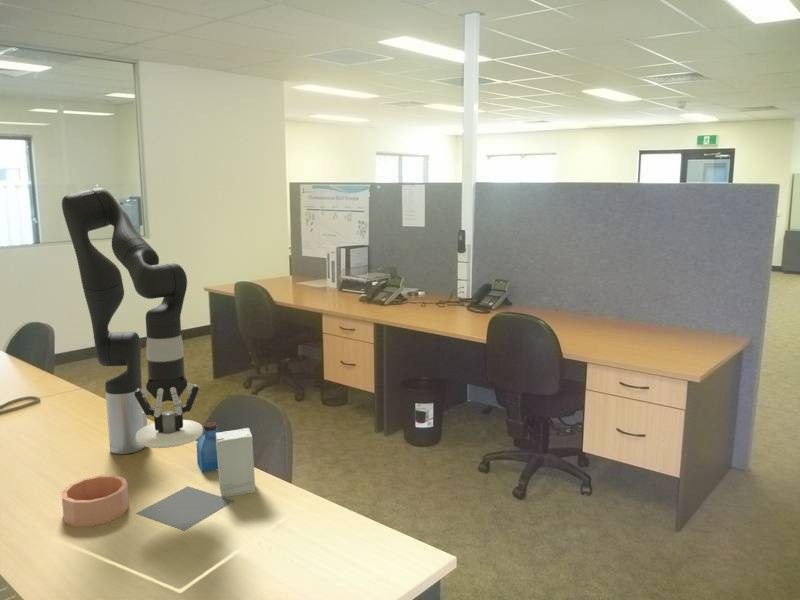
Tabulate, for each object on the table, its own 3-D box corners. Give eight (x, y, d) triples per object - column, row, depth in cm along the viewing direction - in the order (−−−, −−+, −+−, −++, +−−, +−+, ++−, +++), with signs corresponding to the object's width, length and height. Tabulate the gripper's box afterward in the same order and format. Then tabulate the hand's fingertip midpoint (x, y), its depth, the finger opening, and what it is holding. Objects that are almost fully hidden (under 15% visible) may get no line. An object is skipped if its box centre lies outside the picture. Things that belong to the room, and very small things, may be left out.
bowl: (103, 494, 149) (101, 471, 148) (141, 507, 142) (139, 483, 141) (51, 519, 137) (48, 493, 136) (89, 534, 131) (87, 507, 130)
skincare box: (252, 483, 155) (250, 426, 152) (256, 494, 149) (254, 435, 147) (217, 489, 152) (215, 430, 149) (219, 500, 146) (216, 440, 144)
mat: (187, 488, 152) (187, 486, 152) (234, 503, 145) (234, 500, 145) (135, 515, 139) (135, 513, 139) (184, 533, 132) (184, 530, 132)
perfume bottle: (201, 475, 159) (199, 430, 158) (197, 465, 165) (195, 422, 163) (226, 470, 162) (224, 426, 160) (221, 461, 168) (219, 418, 166)
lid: (171, 423, 149) (170, 399, 148) (216, 433, 142) (215, 409, 141) (121, 443, 136) (120, 418, 135) (168, 456, 130) (166, 430, 129)
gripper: (128, 362, 130) (133, 440, 133) (199, 357, 135) (202, 433, 138) (131, 353, 137) (136, 428, 140) (199, 349, 142) (202, 421, 145)
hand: (169, 430), depth 139 cm, fingers closed on lid, 3 cm apart
